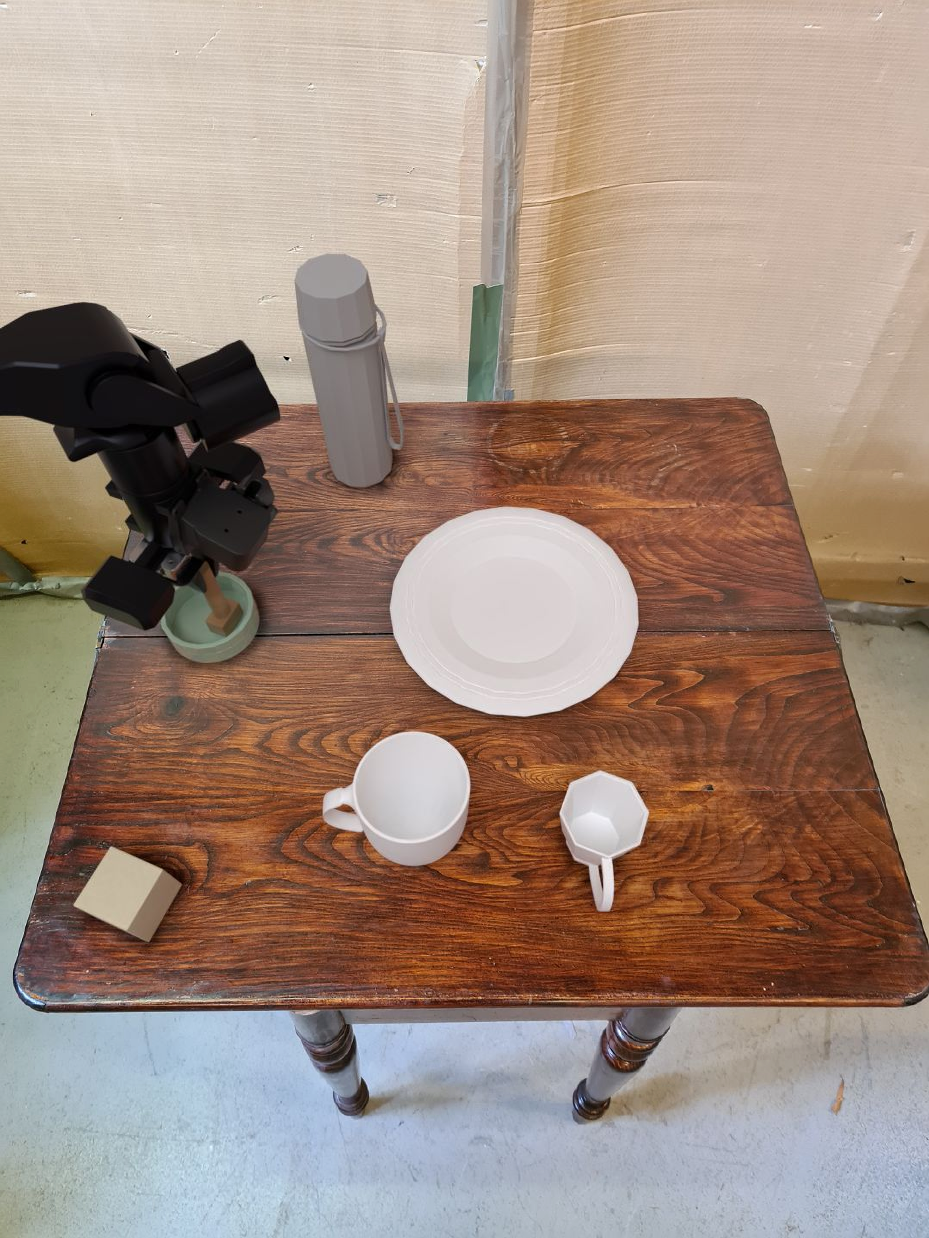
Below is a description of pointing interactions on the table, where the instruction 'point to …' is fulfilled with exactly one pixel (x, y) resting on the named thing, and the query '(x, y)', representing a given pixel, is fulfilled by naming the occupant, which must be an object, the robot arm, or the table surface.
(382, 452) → the water bottle
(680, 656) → the table surface
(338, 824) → the mug
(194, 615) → the bowl
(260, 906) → the table surface
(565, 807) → the cup
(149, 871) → the stick stand
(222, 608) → the stirring stick
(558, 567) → the plate
